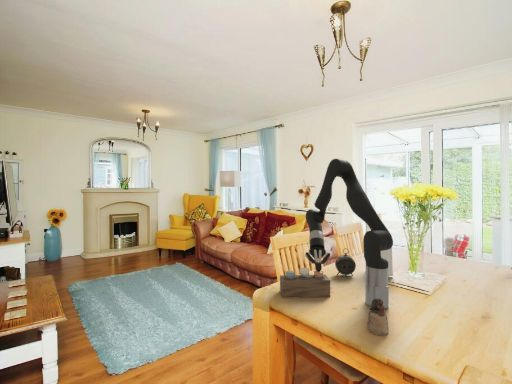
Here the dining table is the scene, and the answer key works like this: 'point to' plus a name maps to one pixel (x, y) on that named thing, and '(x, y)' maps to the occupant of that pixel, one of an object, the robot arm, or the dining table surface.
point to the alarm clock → (345, 264)
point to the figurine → (377, 318)
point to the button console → (305, 286)
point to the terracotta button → (318, 274)
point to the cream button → (304, 271)
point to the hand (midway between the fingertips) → (318, 270)
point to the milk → (388, 256)
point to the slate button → (290, 274)
